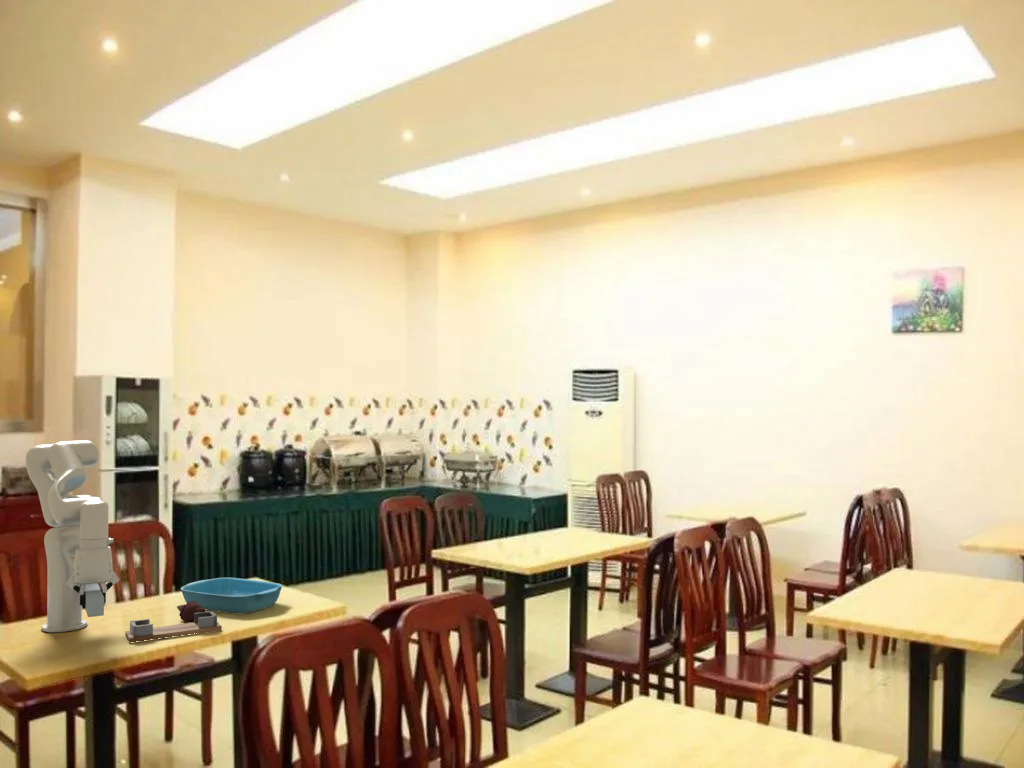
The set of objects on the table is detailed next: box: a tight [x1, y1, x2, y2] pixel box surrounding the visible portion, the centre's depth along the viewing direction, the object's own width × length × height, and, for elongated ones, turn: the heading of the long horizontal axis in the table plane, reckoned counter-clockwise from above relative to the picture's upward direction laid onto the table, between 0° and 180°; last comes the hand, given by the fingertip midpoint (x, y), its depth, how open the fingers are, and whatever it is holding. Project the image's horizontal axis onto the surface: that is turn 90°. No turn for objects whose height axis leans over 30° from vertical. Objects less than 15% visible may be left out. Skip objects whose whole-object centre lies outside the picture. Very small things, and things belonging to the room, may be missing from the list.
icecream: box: [176, 601, 206, 623], centre depth 272 cm, size 7×7×15 cm
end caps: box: [129, 610, 218, 637], centre depth 259 cm, size 8×24×3 cm, turn 121°
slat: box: [84, 583, 105, 618], centre depth 248 cm, size 4×20×5 cm, turn 31°
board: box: [124, 621, 223, 644], centre depth 259 cm, size 9×26×2 cm, turn 121°
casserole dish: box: [180, 577, 283, 614], centre depth 294 cm, size 37×22×7 cm, turn 62°
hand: (92, 605), depth 248 cm, fingers closed on slat, 4 cm apart
